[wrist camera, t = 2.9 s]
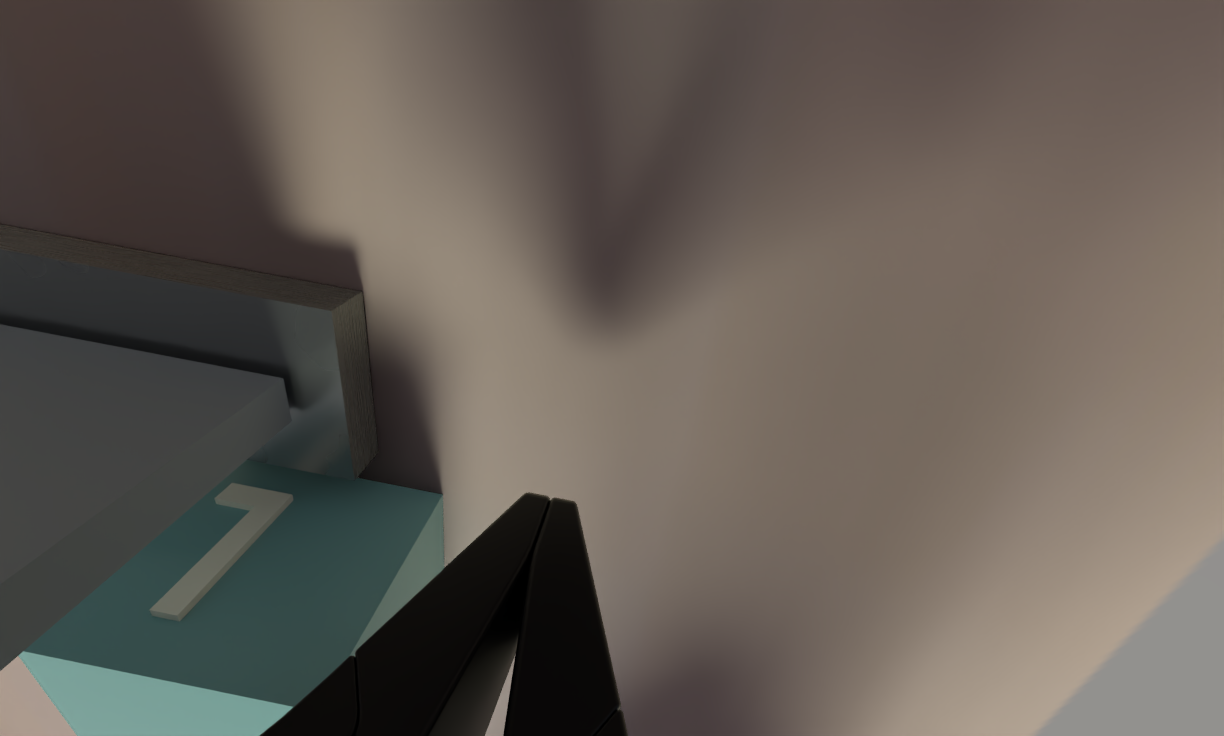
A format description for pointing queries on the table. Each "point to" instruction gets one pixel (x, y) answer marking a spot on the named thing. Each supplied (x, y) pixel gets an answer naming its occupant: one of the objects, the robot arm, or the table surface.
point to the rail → (210, 331)
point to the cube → (240, 605)
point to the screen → (107, 462)
